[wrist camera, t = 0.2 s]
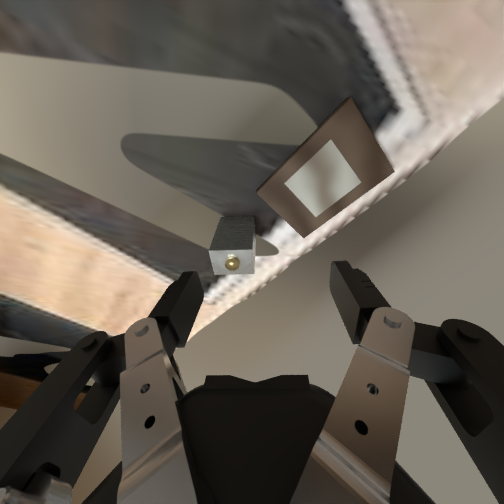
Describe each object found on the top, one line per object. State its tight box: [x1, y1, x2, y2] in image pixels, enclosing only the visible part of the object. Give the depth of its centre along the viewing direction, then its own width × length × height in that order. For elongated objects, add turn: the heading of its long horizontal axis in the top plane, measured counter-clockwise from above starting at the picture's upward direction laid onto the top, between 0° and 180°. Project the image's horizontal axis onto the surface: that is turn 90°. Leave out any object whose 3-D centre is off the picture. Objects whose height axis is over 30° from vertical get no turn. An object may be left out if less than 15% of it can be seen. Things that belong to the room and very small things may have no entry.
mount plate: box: [256, 98, 395, 238], centre depth 29 cm, size 16×12×1 cm
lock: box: [209, 216, 256, 275], centre depth 31 cm, size 4×6×11 cm
